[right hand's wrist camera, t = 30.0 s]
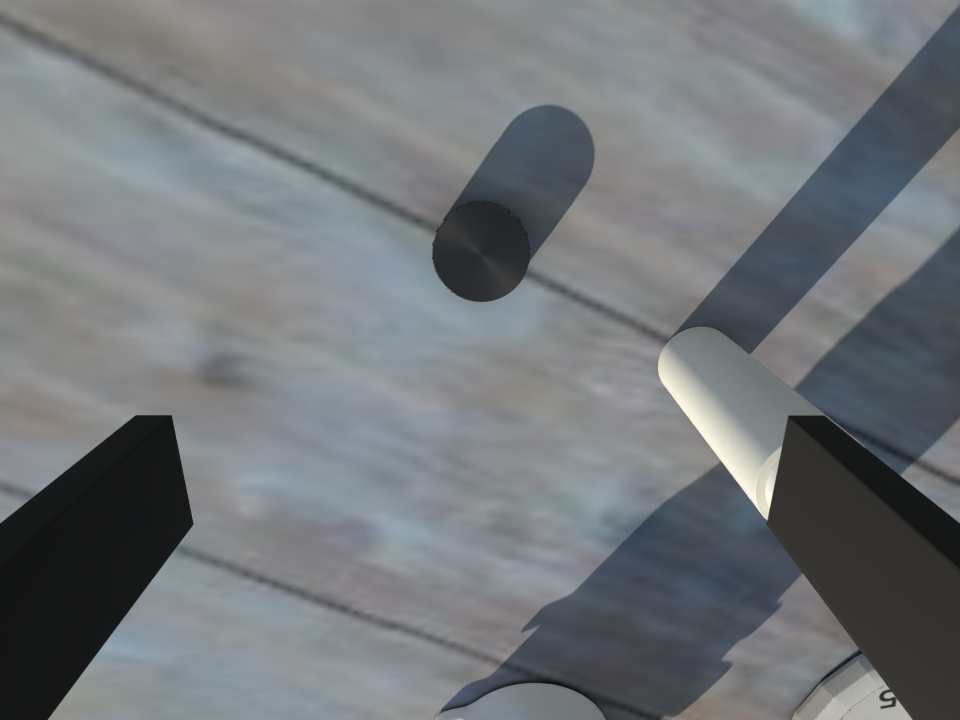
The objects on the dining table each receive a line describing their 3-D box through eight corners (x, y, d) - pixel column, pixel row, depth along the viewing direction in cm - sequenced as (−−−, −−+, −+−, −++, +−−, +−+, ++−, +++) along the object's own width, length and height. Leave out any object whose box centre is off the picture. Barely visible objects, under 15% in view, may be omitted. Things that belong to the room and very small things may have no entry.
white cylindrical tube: (668, 321, 42) (795, 443, 25) (743, 331, 42) (920, 459, 25) (650, 392, 44) (756, 550, 27) (722, 401, 44) (873, 564, 27)
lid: (541, 274, 41) (545, 281, 39) (455, 308, 42) (454, 317, 40) (508, 185, 39) (509, 187, 37) (418, 223, 40) (415, 227, 38)
